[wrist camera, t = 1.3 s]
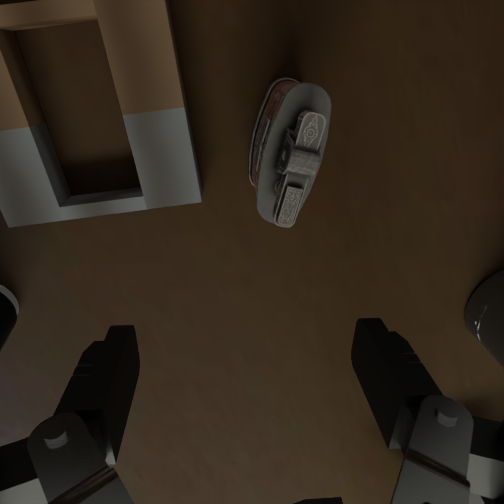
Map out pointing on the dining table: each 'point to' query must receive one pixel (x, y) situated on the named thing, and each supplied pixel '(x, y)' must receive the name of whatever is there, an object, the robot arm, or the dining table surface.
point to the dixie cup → (7, 313)
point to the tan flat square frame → (131, 102)
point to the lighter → (288, 147)
